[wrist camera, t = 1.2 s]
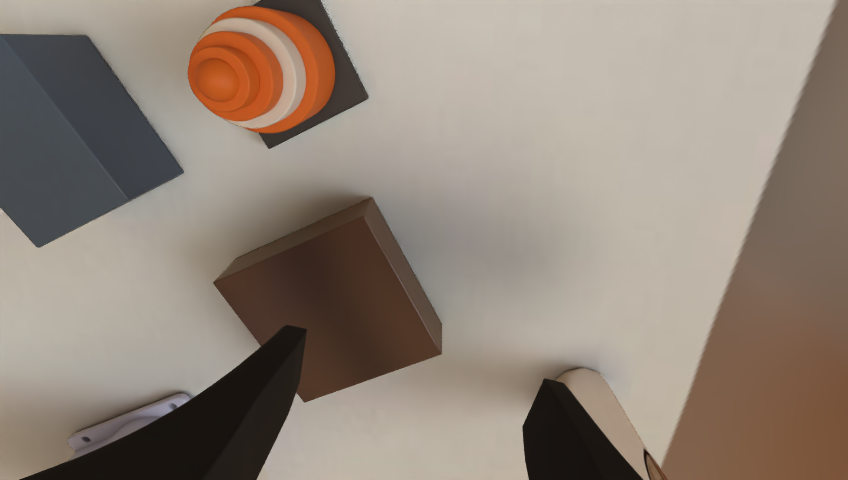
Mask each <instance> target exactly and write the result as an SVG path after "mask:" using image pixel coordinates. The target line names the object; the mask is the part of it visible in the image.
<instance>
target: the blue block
mask: <svg viewBox="0 0 848 480" xmlns="http://www.w3.org/2000/svg"><path fill="white" fill-rule="evenodd" d="M183 173H184V172H183V170H182V169H181V167H180V166H179V165H178V163H177V162H176V160H175V159H174V158H173V156H172V155H171V153H170V152H169V150H168V149H167V148H166V146H165V145H164V143H163V142H162V141H161V139H160V138H159V136H158V135H157V134H156V132H155V131H154V129H153V128H152V127H151V125H150V124H149V122H148V121H147V120H146V118H145V117H144V115H143V114H142V113H141V111H140V110H139V108H138V107H137V105H136V104H135V103H134V101H133V100H132V98H131V97H130V96H129V94H128V93H127V91H126V90H125V89H124V87H123V86H122V84H121V83H120V82H119V80H118V79H117V77H116V76H115V75H114V73H113V72H112V70H111V69H110V68H109V66H108V65H107V63H106V62H105V61H104V59H103V58H102V56H101V55H100V53H99V52H98V51H97V49H96V48H95V46H94V45H93V44H92V42H91V41H90V39H89V38H88V37H87V36H86V35H31V34H0V208H1V209H2V210H3V211H4V212H5V213H6V214H7V215H8V216H9V217H10V218H11V220H12V221H13V222H14V223H15V224H16V225H17V226H18V227H19V228H20V229H21V231H22V232H23V233H24V234H25V235H26V236H27V237H28V238H29V239H30V240H31V241H32V243H33V244H34V245H35V246H36V247H38V248H39V247H42V246H44V245H46V244H48V243H50V242H52V241H54V240H55V239H57V238H59V237H61V236H63V235H65V234H67V233H69V232H71V231H73V230H75V229H77V228H79V227H81V226H83V225H85V224H87V223H89V222H91V221H93V220H95V219H96V218H98V217H100V216H102V215H104V214H106V213H108V212H110V211H112V210H114V209H116V208H118V207H120V206H122V205H124V204H125V203H127V202H129V201H131V200H133V199H135V198H137V197H139V196H141V195H143V194H145V193H147V192H149V191H150V190H152V189H154V188H156V187H158V186H160V185H162V184H164V183H166V182H168V181H170V180H172V179H174V178H175V177H177V176H179V175H181V174H183Z"/></svg>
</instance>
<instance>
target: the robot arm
mask: <svg viewBox="0 0 848 480" xmlns="http://www.w3.org/2000/svg"><path fill="white" fill-rule="evenodd" d="M306 334H307V329H305V328H301V327H296V326H291V325H285V326H283V327H282V328H281V329H280V330H279V331H278V332H277V333H276V334H274V335H273V336H272V337H271V338H270V339H269V340H268V341H267V342H266V343H265V344H263V345H262V346H261V347H260V348H259V349H258V350H257V351H255V352H254V353H253V354H252V355H251V356H249V357H248V358H247V359H246V360H244V361H243V362H242V363H241V364H240V365H238V366H237V367H236V368H235V369H233V370H232V371H231V372H229V373H228V374H227V375H225V376H224V377H222V378H221V379H220V380H218V381H217V382H216V383H214V384H213V385H211V386H210V387H209V388H207V389H206V390H204V391H203V392H201V393H200V394H198V395H197V396H195V397H194V398H192V399H190V398H189V397H188V396H187V395H185V394H181V393H180V394H176V395H173V396H171V397H168V398H166V399H163V400H160V401H158V402H155V403H153V404H150V405H147V406H145V407H142V408H140V409H137V410H134V411H132V412H129V413H127V414H124V415H121V416H119V417H116V418H114V419H111V420H109V421H106V422H103V423H101V424H98V425H96V426H93V427H90V428H88V429H85V430H83V431H80V432H77V433H75V434H73V435H71V436H70V437H69V439H68V440H67V442H68V445H69V446H70V447H71V448H72V449H74V450H75V451H76V452H75V454H74V455H73V456H72V457H71V458H70V459H69V460H68V461H67V462H65V463H62V464H60V465H57V466H54V467H52V468H49V469H47V470H44V471H41V472H39V473H36V474H34V475H31V476H28V477H25V478H23V479H20V480H256V479H257V477H258V475H259V473H260V471H261V469H262V467H263V465H264V463H265V461H266V459H267V457H268V455H269V453H270V451H271V449H272V447H273V445H274V443H275V441H276V438H277V436H278V434H279V432H280V430H281V428H282V426H283V424H284V422H285V420H286V418H287V416H288V413H289V411H290V408H291V405H292V402H293V400H294V397H295V394H296V391H297V388H298V385H299V383H300V377H301V370H302V363H303V356H304V349H305V342H306ZM523 441H524V453H525V462H526V467H527V472H528V477H529V480H644V479H643V478H642V477H641V476H640V475H639V474H638V473H637V472H636V471H635V470H634V468H633V467H632V466H631V465H630V464H629V463H628V462H627V460H626V459H625V458H624V457H623V456H622V455H621V454H620V452H619V451H618V450H617V449H616V448H615V446H614V445H613V444H612V443H611V442H610V440H609V439H608V438H607V437H606V435H605V434H604V433H603V432H602V430H601V429H600V428H599V427H598V425H597V424H596V423H595V422H594V420H593V419H592V418H591V416H590V415H589V414H588V413H587V411H586V410H585V409H584V407H583V406H582V405H581V404H580V402H579V401H578V400H577V398H576V397H575V396H574V395H573V393H572V392H571V391H570V390H569V388H568V387H567V386H566V385H565V384H564V383H563V382H559V381H554V380H549V379H544V380H543V382H542V385H541V387H540V389H539V391H538V393H537V396H536V398H535V400H534V402H533V404H532V407H531V409H530V411H529V413H528V416H527V418H526V420H525V422H524V424H523Z"/></svg>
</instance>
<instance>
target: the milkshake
mask: <svg viewBox="0 0 848 480" xmlns="http://www.w3.org/2000/svg"><path fill="white" fill-rule="evenodd" d="M555 381H559V382H563V383H564V384H565V385H566V386H567V387H568V388H569V390H570V391H571V392H572V393H573V395H574V396H575V397H576V398H577V400H578V401H579V402H580V404H581V405H582V406H583V407H584V409H585V410H586V411H587V413H588V414H589V415H590V416H591V418H592V419H593V420H594V422H595V423H596V424H597V425H598V427H599V428H600V429H601V430H602V432H603V433H604V434H605V435H606V437H607V438H608V439H609V440H610V442H611V443H612V444H613V445H614V446H615V448H616V449H617V450H618V451H619V452H620V454H621V455H622V456H623V457H624V458H625V459H626V460H627V462H628V463H629V464H630V465H631V466H632V467H633V468H634V470H635V471H636V472H637V473H638V474H639V475H640V476H641V477H642V478H643V479H644V480H668V479H667V478H666V476H665V475H664V473H663V472H662V470H661V469H660V467H659V465H658V464H657V462H656V461H655V459H654V458H653V457H652V455H651V454H650V453H649V451H648V450H647V448H646V446H645V445H644V443H643V441H642V440H641V438H640V436H639V435H638V433H637V431H636V430H635V428H634V426H633V425H632V423H631V421H630V420H629V418H628V416H627V415H626V413H625V411H624V410H623V408H622V406H621V405H620V403H619V401H618V400H617V398H616V396H615V395H614V393H613V391H612V390H611V388H610V386H609V385H608V383H607V382H606V381H605V379H604V378H603V376H602V375H601V374H600V373H599V372H596V371H592V370H589V369H586V368H580V369H575V370H571V371H566V372H564V373H563V374H562V375H561V376H560V377H559V378H557V379H556V380H555Z"/></svg>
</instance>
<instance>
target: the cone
mask: <svg viewBox="0 0 848 480" xmlns="http://www.w3.org/2000/svg"><path fill="white" fill-rule="evenodd" d="M188 79H189V83H190V86H191V89H192V91H193V92H194V94H195V95H196V97H197V98H198V99H199V100H200V101H201V102H202V103H203V104H204V105H205V106H206V107H207V108H208V109H209V110H210V111H212V112H213V113H214V114H216V115H218V116H220V117H222V118H223V119H225V120H226V121H228V122H230V123H232V124H235V125H237V126H240V127H243V128H246V129H248V130H251V131H254V132H259V134H260V136H261V137H262V139H263V141H264V142H265V144H266V145H267V147H268V148H269V149H270V148H272V147H274V146H276V145H278V144H280V143H282V142H284V141H286V140H288V139H290V138H292V137H294V136H296V135H298V134H300V133H302V132H304V131H306V130H308V129H310V128H312V127H314V126H316V125H318V124H320V123H322V122H324V121H326V120H328V119H330V118H331V117H333V116H335V115H337V114H339V113H341V112H343V111H345V110H347V109H349V108H351V107H353V106H355V105H357V104H359V103H361V102H363V101H365V100H367V99H368V95H367V93H366V91H365V89H364V87H363V85H362V83H361V81H360V79H359V77H358V75H357V73H356V71H355V69H354V67H353V65H352V63H351V61H350V59H349V57H348V55H347V53H346V51H345V49H344V47H343V45H342V43H341V41H340V39H339V37H338V35H337V33H336V31H335V29H334V27H333V25H332V23H331V21H330V19H329V17H328V15H327V13H326V11H325V9H324V7H323V5H322V3H321V1H320V0H261V1H259V2H257V3H256V4H254V5H252V6H243V7H237V8H234V9H231V10H229V11H227V12H225V13H223V14H222V15H220V16H219V17H218V18H217V19H216V20H215V21H214V22H213V23H212V24H211V25H210V27H208V28H207V29H206V30H205V31H204V33H203V34H202V35H201V37H200V38H199V40H198V42H197V44H196V46H195V47H194V49H193V51H192V54H191V57H190V61H189V67H188Z"/></svg>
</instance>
